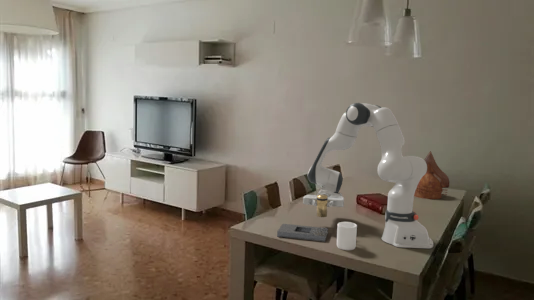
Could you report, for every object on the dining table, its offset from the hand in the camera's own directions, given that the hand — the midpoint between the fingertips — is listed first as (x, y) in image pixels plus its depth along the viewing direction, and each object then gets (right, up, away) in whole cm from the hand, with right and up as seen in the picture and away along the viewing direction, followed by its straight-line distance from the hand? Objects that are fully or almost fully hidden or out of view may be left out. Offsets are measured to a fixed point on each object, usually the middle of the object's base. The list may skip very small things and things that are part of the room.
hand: (321, 204), depth 210 cm
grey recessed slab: (-10, -14, -5) cm, 17 cm away
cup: (+9, -16, -18) cm, 25 cm away
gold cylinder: (0, -6, +2) cm, 6 cm away
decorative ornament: (+80, -4, +78) cm, 112 cm away
